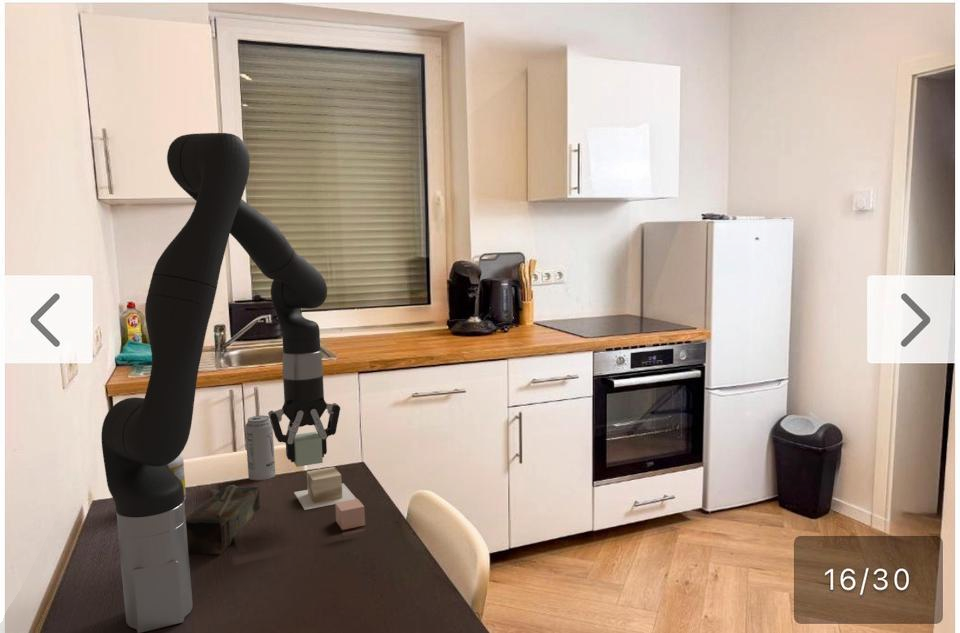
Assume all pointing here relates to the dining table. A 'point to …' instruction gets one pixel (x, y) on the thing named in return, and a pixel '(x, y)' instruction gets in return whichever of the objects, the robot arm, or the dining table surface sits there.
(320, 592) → the dining table surface
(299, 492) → the pad
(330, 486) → the maple block
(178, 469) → the supplement bottle
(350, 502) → the coral block
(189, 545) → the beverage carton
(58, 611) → the dining table surface
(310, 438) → the sage block
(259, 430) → the energy drink can
